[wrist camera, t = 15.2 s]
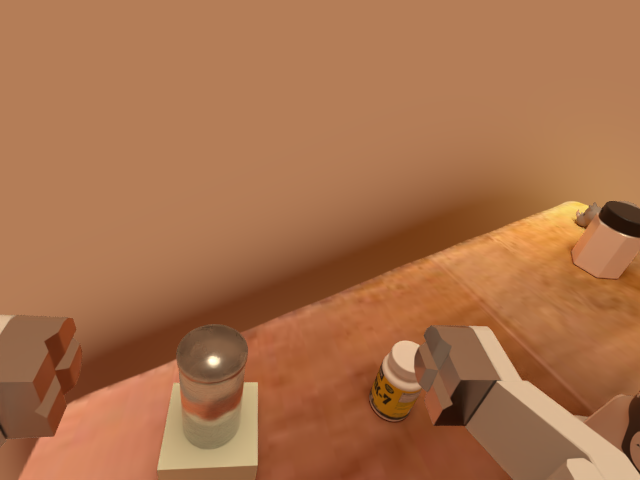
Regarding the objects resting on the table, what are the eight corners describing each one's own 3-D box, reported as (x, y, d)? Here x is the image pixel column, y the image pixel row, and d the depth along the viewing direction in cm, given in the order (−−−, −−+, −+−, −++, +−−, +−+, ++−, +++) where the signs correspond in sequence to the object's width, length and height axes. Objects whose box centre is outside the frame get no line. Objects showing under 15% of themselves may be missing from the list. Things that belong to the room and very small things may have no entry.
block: (254, 405, 43) (257, 382, 40) (254, 487, 36) (257, 465, 34) (175, 406, 41) (173, 382, 39) (160, 492, 35) (157, 469, 32)
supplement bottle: (362, 387, 47) (380, 339, 42) (398, 381, 48) (420, 334, 43) (378, 426, 43) (400, 378, 38) (417, 419, 45) (443, 372, 40)
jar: (598, 253, 82) (635, 202, 75) (628, 280, 75) (670, 227, 68) (560, 250, 80) (593, 198, 73) (586, 278, 73) (626, 223, 67)
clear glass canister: (242, 395, 39) (249, 325, 33) (239, 450, 35) (246, 381, 29) (186, 395, 38) (182, 323, 32) (176, 451, 34) (170, 380, 28)
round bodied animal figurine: (579, 229, 95) (584, 194, 92) (643, 239, 86) (650, 200, 83) (568, 237, 90) (572, 200, 88) (633, 248, 82) (640, 207, 79)
